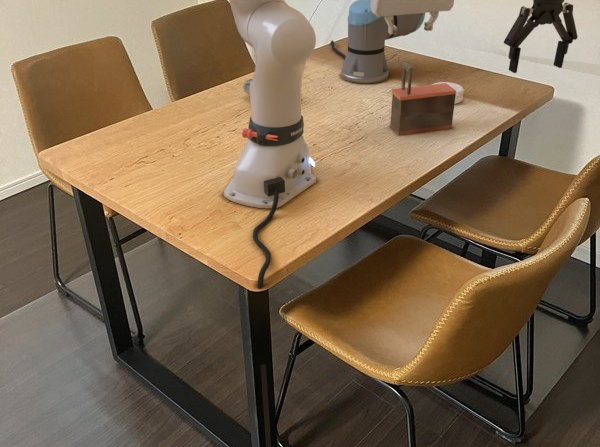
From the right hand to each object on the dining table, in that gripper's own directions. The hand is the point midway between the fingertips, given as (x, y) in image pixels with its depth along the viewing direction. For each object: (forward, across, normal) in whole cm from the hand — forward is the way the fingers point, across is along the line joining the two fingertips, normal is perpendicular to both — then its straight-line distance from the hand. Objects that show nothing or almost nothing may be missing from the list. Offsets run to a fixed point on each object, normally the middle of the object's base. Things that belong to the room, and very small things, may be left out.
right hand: (535, 69), depth 166 cm
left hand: (-13, -37, 0) cm, 39 cm away
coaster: (+13, -17, +17) cm, 27 cm away
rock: (+13, -67, +31) cm, 75 cm away
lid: (+3, -32, 0) cm, 32 cm away
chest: (+13, -32, 0) cm, 34 cm away
